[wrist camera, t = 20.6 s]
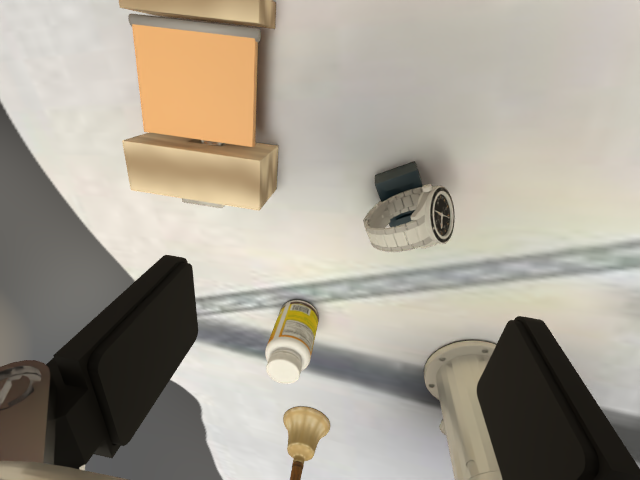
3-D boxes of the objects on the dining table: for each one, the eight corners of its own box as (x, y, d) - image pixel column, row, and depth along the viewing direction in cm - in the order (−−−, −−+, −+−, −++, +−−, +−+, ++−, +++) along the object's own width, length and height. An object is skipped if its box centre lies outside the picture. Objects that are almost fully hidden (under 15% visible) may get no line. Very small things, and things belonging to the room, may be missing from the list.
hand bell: (275, 410, 58) (243, 520, 44) (316, 402, 56) (297, 516, 42) (297, 439, 61) (274, 550, 47) (338, 432, 59) (326, 548, 45)
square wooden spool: (276, 188, 39) (259, 210, 33) (165, 172, 40) (131, 190, 34) (284, 3, 30) (263, -10, 25) (143, -12, 31) (92, -28, 26)
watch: (446, 201, 37) (471, 251, 27) (375, 223, 39) (375, 275, 29) (433, 153, 34) (455, 189, 25) (359, 179, 37) (353, 221, 27)
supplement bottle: (291, 332, 49) (273, 392, 40) (274, 303, 47) (250, 360, 38) (326, 323, 47) (314, 384, 38) (309, 293, 45) (292, 350, 36)
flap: (257, 145, 33) (254, 147, 32) (147, 130, 34) (141, 131, 33) (260, 29, 28) (257, 27, 28) (135, 14, 29) (127, 12, 29)
